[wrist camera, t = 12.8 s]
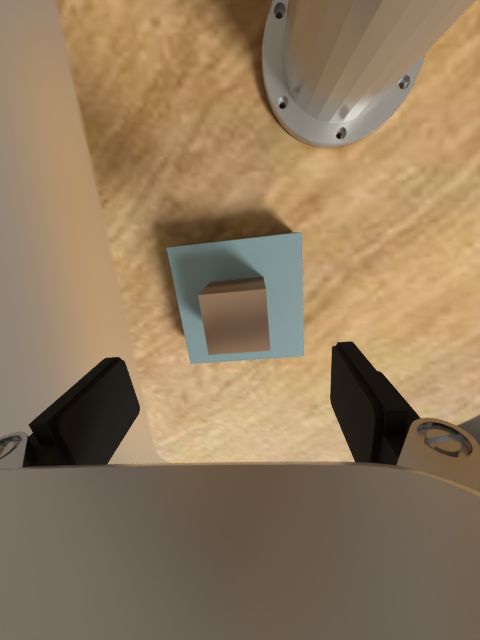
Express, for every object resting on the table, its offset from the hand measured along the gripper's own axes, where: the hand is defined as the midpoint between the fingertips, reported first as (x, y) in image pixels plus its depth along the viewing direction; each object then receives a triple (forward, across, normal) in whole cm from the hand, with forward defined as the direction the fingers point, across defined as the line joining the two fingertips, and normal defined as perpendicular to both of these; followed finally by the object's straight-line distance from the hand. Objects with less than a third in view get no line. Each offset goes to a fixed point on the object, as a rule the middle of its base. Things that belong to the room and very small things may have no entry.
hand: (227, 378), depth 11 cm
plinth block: (+17, 0, +1) cm, 17 cm away
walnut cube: (+13, 0, +1) cm, 13 cm away
